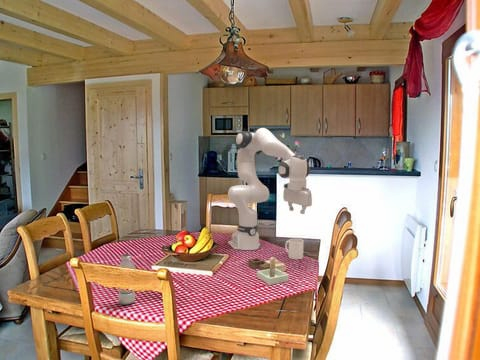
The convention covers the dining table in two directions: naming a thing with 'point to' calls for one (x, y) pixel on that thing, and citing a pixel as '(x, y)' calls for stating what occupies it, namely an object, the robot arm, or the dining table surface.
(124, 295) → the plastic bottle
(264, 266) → the small brown block
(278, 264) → the board
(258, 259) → the socket block
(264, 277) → the tray
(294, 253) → the cup
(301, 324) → the dining table surface
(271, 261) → the dowel
